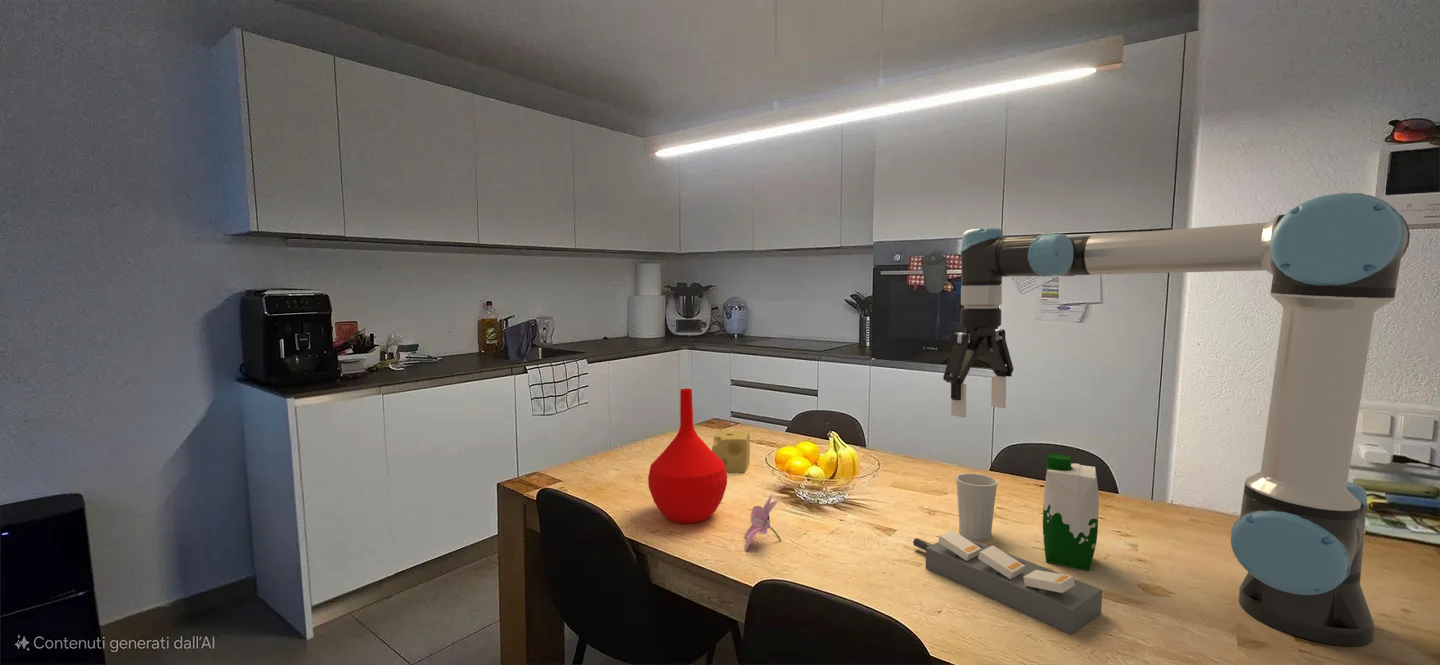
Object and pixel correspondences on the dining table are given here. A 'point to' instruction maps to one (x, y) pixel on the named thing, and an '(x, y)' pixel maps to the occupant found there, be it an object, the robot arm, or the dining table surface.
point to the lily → (760, 521)
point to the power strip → (1017, 588)
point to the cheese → (733, 449)
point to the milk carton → (1070, 512)
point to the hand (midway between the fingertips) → (979, 411)
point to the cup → (976, 505)
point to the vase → (687, 473)
